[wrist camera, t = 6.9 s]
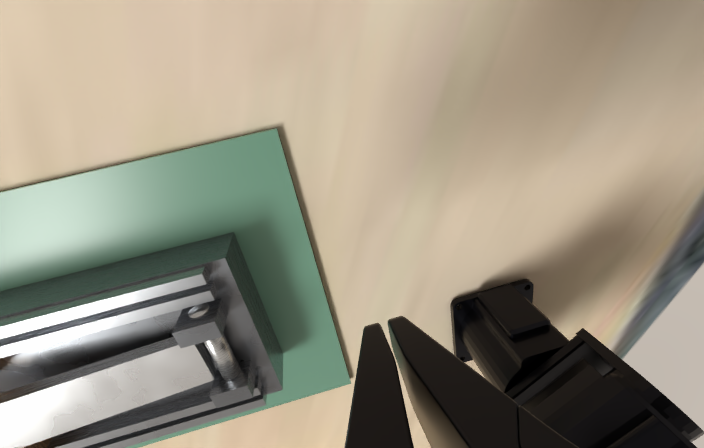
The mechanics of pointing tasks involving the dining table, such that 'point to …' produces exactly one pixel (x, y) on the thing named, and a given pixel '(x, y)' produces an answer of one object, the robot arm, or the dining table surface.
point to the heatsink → (147, 335)
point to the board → (187, 239)
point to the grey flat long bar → (100, 391)
